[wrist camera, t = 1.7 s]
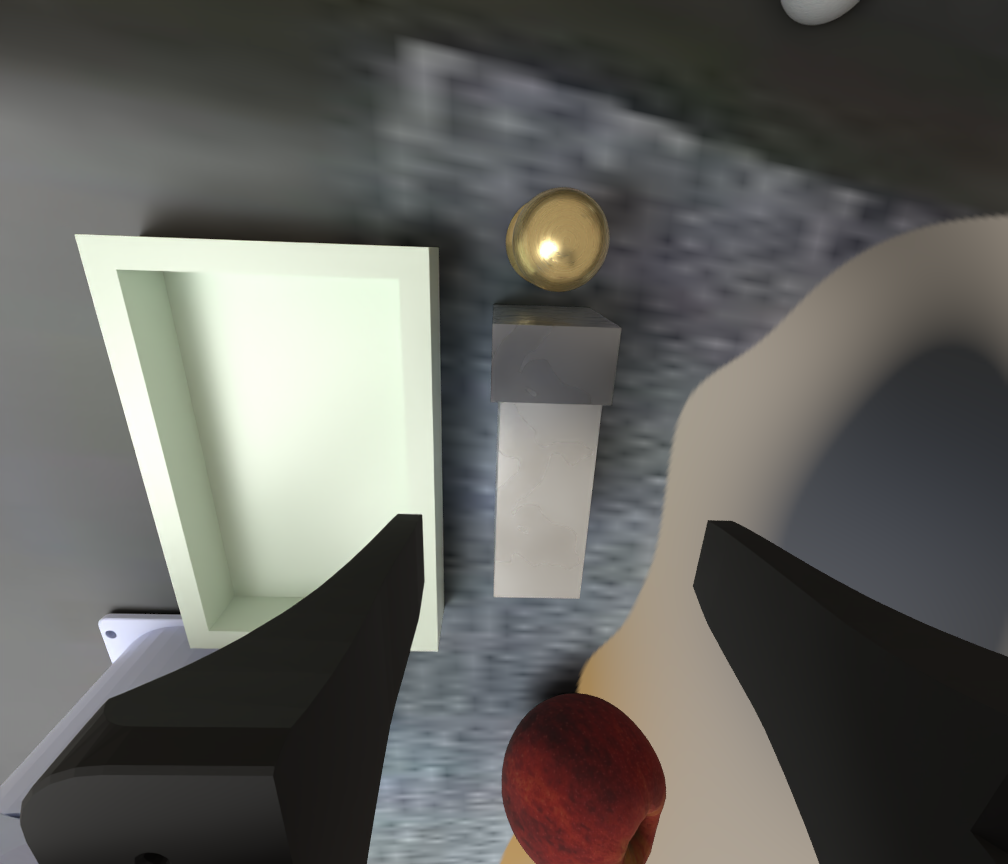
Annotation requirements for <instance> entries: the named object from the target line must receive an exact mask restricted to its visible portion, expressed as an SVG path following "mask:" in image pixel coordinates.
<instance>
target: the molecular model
mask: <svg viewBox="0 0 1008 864" xmlns="http://www.w3.org/2000/svg"><path fill="white" fill-rule="evenodd" d="M860 1H861V0H780V2H781V5H782V7H783V9H784V11H785V13H786V14H787V15H788V16H789V17H790V18H791V19H792V20H794V21H795V22H797V23H800V24H803V25H809V26H813V25H821V24H825V23H828V22H831V21H833V20H835V19H837V18H839V17H841V16H842V15H844V14H845V13H847V12H848V11H849V10H851V9H852V8H853V7H854V6H855V5H857V4H858V3H859V2H860Z"/></svg>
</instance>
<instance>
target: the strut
mask: <svg viewBox="0 0 1008 864" xmlns="http://www.w3.org/2000/svg"><path fill="white" fill-rule="evenodd" d="M620 336H621V327H619V326H618V325H616V324H614V323H613V322H611V321H610V320H608V319H607V318H605V317H604V316H602V315H601V314H599V313H597V312H596V311H594V310H593V309H591V308H589V307H559V306H530V305H500V304H493V329H492V368H491V402H498V418H497V450H496V481H495V513H494V597H521V598H580V589H581V581H582V572H583V564H584V555H585V547H586V538H587V530H588V521H589V513H590V505H591V496H592V488H593V479H594V471H595V462H596V454H597V445H598V437H599V428H600V420H601V411H602V405H612V399H613V391H614V383H615V375H616V368H617V360H618V352H619V344H620Z"/></svg>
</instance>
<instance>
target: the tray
mask: <svg viewBox="0 0 1008 864" xmlns="http://www.w3.org/2000/svg"><path fill="white" fill-rule="evenodd" d="M75 238H76V241H77V245H78V249H79V252H80V256H81V259H82V263H83V266H84V270H85V274H86V277H87V281H88V284H89V288H90V291H91V295H92V299H93V302H94V306H95V309H96V313H97V316H98V320H99V324H100V327H101V331H102V334H103V338H104V342H105V345H106V349H107V352H108V356H109V359H110V363H111V367H112V370H113V374H114V377H115V381H116V384H117V388H118V392H119V395H120V399H121V402H122V406H123V409H124V413H125V417H126V420H127V424H128V427H129V431H130V434H131V438H132V442H133V445H134V449H135V452H136V456H137V460H138V463H139V467H140V470H141V474H142V477H143V481H144V485H145V488H146V492H147V495H148V499H149V502H150V506H151V510H152V513H153V517H154V520H155V524H156V527H157V531H158V535H159V538H160V542H161V545H162V549H163V552H164V556H165V560H166V563H167V567H168V570H169V574H170V578H171V581H172V585H173V588H174V592H175V595H176V599H177V603H178V606H179V610H180V613H181V617H182V620H183V624H184V628H185V631H186V635H187V638H188V642H189V645H190V648H203V649H221V648H223V647H225V646H226V645H228V644H230V643H232V642H234V641H236V640H238V639H240V638H241V637H243V636H245V635H247V634H248V633H250V632H252V631H253V630H255V629H256V628H258V627H260V626H261V625H263V624H265V623H266V622H268V621H270V620H271V619H273V618H275V617H276V616H278V615H280V614H281V613H283V612H284V611H286V610H287V609H289V608H290V607H292V606H293V605H295V604H296V603H298V602H299V601H300V600H302V599H303V598H305V597H306V596H308V595H309V594H310V593H312V592H313V591H314V590H316V589H317V588H318V587H320V586H321V585H322V584H323V583H325V582H326V581H327V580H328V579H329V578H331V577H332V576H333V575H334V574H335V573H336V572H338V571H339V570H340V569H341V568H342V567H343V566H345V565H346V564H347V563H348V562H349V561H350V560H351V559H352V558H353V557H354V556H355V555H356V554H358V553H359V552H360V551H361V550H362V549H363V548H364V547H365V546H366V545H367V544H368V543H369V542H370V541H371V540H372V539H373V538H374V537H375V536H376V535H377V534H378V533H379V532H380V531H381V530H382V529H383V528H384V527H385V526H386V525H387V524H388V523H389V522H390V521H391V520H392V519H393V518H394V517H395V516H396V515H397V514H422V519H423V548H424V577H425V582H424V589H423V596H422V603H421V609H420V615H419V620H418V624H417V628H416V632H415V635H414V639H413V642H412V646H411V650H410V651H438V648H439V641H440V634H441V627H442V620H443V613H444V555H443V491H442V427H441V362H440V298H439V247H413V246H386V245H359V244H332V243H305V242H278V241H252V240H225V239H198V238H171V237H144V236H112V235H79V234H75Z"/></svg>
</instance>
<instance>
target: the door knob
mask: <svg viewBox="0 0 1008 864" xmlns="http://www.w3.org/2000/svg"><path fill="white" fill-rule="evenodd" d="M609 239H610V235H609V227H608V222H607V219H606V216H605V214H604V212H603V210H602V209H601V207H600V206H599V205H598V204H597V202H596V201H595V200H594V199H593V198H591V197H590V196H589V195H587V194H586V193H584V192H582V191H580V190H577V189H573V188H567V187H559V188H553V189H550V190H547V191H544V192H542V193H540V194H538V195H537V196H535V197H534V198H533V199H531V200H530V201H529V202H528V203H527V204H525V205H524V206H523V207H522V208H520V209H519V210H518V212H517V213H516V214H515V216H514V217H513V219H512V220H511V222H510V224H509V227H508V230H507V235H506V251H507V255H508V258H509V261H510V263H511V265H512V267H513V268H514V269H515V271H516V272H517V273H518V274H519V275H520V276H521V277H522V278H524V279H525V280H527V281H528V282H530V283H533V284H534V285H536V286H538V287H539V288H542V289H544V290H548V291H554V292H564V291H570V290H573V289H576V288H578V287H580V286H582V285H584V284H585V283H587V282H588V281H589V280H591V279H592V278H593V277H594V276H595V275H596V273H597V272H598V271H599V269H600V268H601V266H602V264H603V263H604V260H605V258H606V256H607V252H608V248H609Z"/></svg>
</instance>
